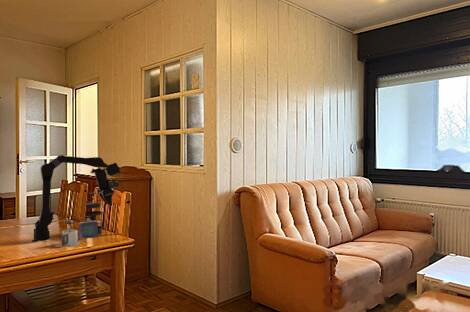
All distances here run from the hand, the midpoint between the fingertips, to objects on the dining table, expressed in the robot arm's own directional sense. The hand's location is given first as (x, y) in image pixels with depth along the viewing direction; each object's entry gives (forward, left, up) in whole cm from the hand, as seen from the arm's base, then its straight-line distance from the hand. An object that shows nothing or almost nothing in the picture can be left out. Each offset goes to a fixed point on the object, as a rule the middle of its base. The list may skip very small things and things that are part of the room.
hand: (109, 205), depth 204 cm
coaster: (-6, -30, -15) cm, 35 cm away
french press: (-7, -4, -16) cm, 18 cm away
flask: (-4, -16, -16) cm, 23 cm away
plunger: (-6, -30, -10) cm, 32 cm away
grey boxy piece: (-6, -32, -15) cm, 35 cm away
